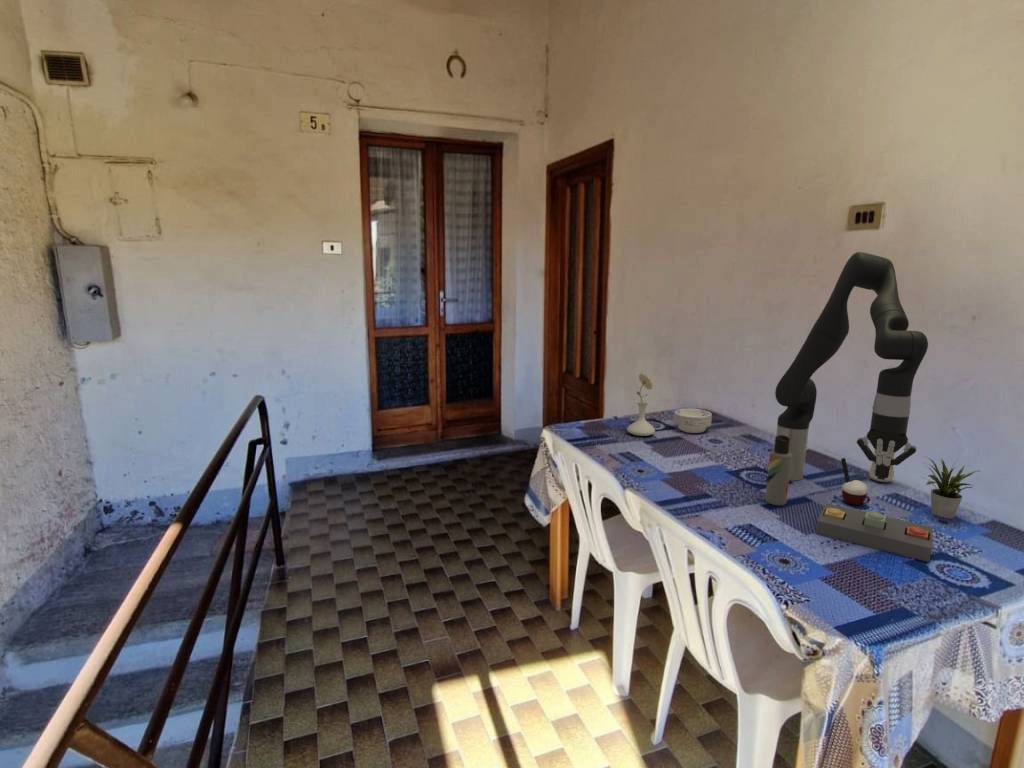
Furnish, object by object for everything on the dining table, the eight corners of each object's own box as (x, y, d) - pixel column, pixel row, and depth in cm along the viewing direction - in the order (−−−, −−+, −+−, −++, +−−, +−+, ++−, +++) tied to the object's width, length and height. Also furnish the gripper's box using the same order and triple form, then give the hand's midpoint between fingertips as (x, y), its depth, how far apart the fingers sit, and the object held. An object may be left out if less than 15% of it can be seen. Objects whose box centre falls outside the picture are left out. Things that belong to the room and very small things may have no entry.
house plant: (895, 506, 164) (903, 453, 160) (926, 499, 169) (935, 447, 165) (948, 527, 151) (958, 469, 147) (980, 519, 156) (991, 463, 152)
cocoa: (871, 509, 163) (880, 470, 160) (850, 509, 162) (858, 470, 159) (851, 495, 172) (859, 458, 169) (831, 494, 172) (838, 457, 169)
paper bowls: (667, 425, 245) (668, 408, 244) (701, 424, 247) (702, 407, 245) (681, 436, 231) (682, 417, 229) (717, 435, 232) (718, 416, 231)
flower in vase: (658, 438, 227) (661, 377, 222) (629, 438, 227) (632, 377, 222) (650, 429, 240) (654, 371, 235) (623, 428, 240) (626, 371, 235)
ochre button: (823, 523, 150) (824, 511, 149) (825, 518, 153) (827, 505, 153) (841, 528, 148) (843, 515, 147) (843, 522, 151) (845, 509, 150)
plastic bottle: (896, 485, 180) (905, 424, 176) (872, 483, 181) (881, 423, 177) (887, 478, 186) (896, 419, 182) (864, 476, 187) (873, 418, 183)
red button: (905, 543, 140) (907, 530, 139) (906, 537, 143) (908, 524, 142) (925, 548, 137) (928, 535, 136) (926, 542, 140) (928, 528, 140)
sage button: (863, 528, 145) (865, 515, 144) (865, 522, 148) (867, 509, 147) (882, 532, 142) (884, 519, 141) (884, 526, 145) (886, 513, 145)
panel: (815, 533, 147) (817, 520, 146) (824, 514, 158) (826, 503, 157) (929, 562, 133) (931, 548, 132) (930, 539, 144) (932, 527, 143)
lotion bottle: (785, 499, 168) (792, 435, 164) (787, 507, 163) (795, 440, 159) (764, 497, 170) (771, 433, 166) (766, 504, 165) (773, 438, 161)
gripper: (924, 412, 138) (913, 480, 141) (861, 404, 146) (852, 468, 149) (923, 419, 132) (912, 489, 135) (857, 410, 140) (848, 477, 143)
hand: (881, 478), depth 142 cm, fingers closed
